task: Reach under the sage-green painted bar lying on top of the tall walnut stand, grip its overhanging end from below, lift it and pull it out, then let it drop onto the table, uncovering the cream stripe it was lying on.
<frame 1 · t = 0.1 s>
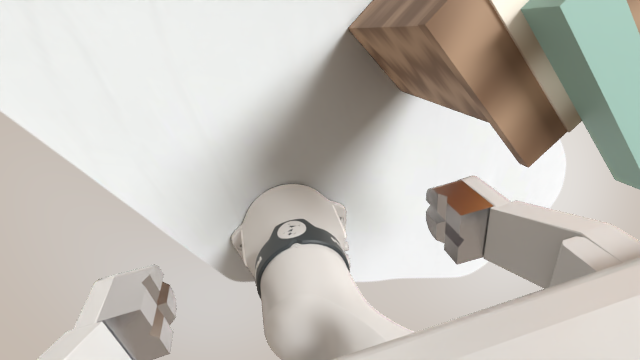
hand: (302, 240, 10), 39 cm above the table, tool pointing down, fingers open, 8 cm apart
bar: (593, 90, 26), point 26 cm above the table, touching stand
stand: (405, 39, 47), on the table
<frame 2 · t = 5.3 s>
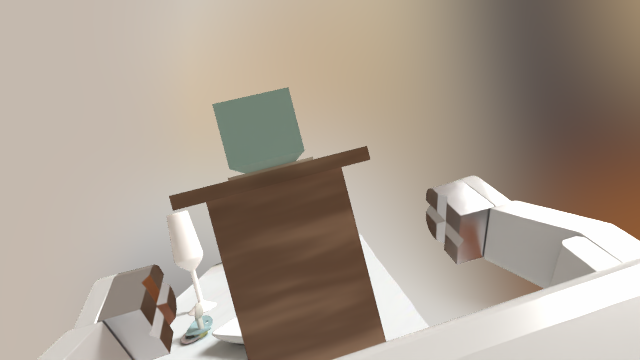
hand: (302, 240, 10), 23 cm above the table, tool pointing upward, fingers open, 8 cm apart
bar: (271, 168, 25), point 26 cm above the table, touching stand
pacifier: (198, 337, 66), on the table
salad plate: (298, 324, 61), on the table
champagne flute: (203, 309, 82), on the table
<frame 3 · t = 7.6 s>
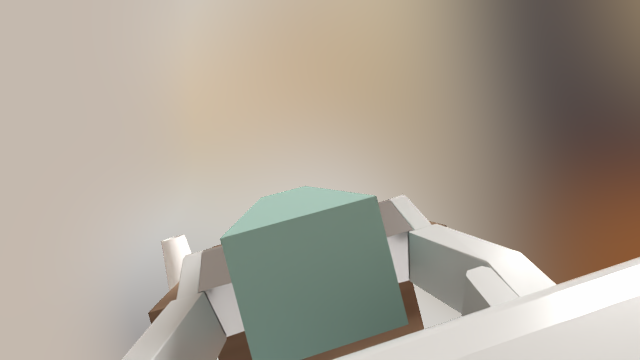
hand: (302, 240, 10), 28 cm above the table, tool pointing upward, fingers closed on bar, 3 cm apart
bar: (302, 255, 17), point 26 cm above the table, touching gripper, stand
champagne flute: (201, 344, 74), on the table
when the fingers open (19 cm above the table, at t = 13.5 s): bar drops 12 cm, on the table.
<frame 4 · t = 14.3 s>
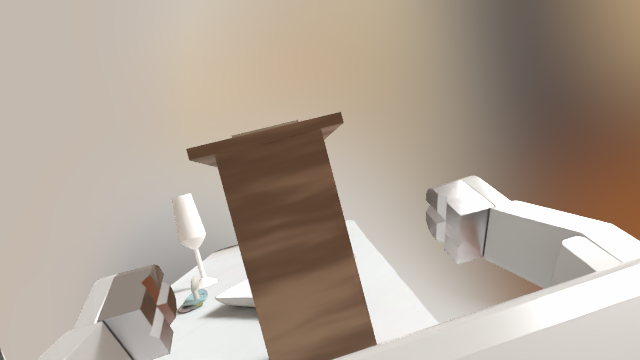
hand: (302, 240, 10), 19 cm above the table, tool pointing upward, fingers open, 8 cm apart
pacifier: (194, 307, 72), on the table
salad plate: (292, 291, 67), on the table
champagne flute: (205, 285, 88), on the table
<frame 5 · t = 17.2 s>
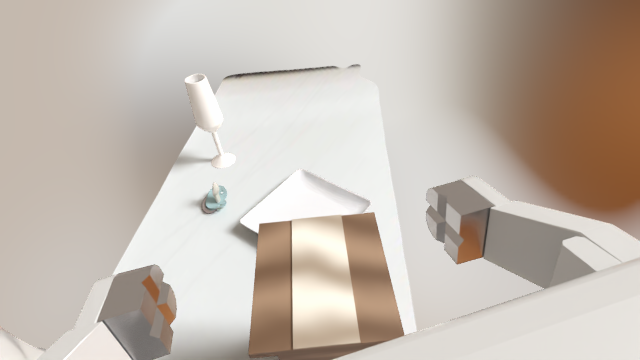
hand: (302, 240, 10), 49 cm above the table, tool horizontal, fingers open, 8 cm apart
pacifier: (215, 204, 81), on the table
salad plate: (307, 221, 75), on the table
champagne flute: (223, 160, 93), on the table
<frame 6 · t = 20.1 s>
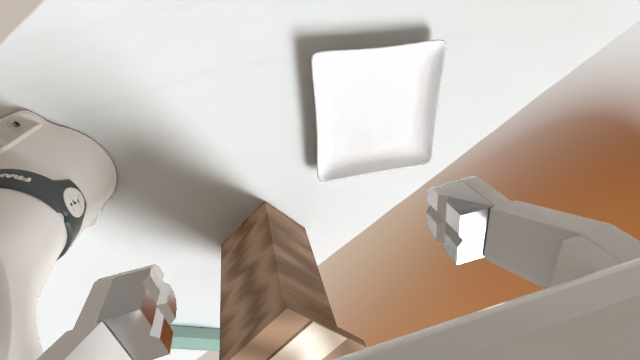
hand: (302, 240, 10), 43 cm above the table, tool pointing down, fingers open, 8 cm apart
bar: (176, 330, 70), on the table
salad plate: (371, 109, 57), on the table
stand: (260, 240, 63), on the table
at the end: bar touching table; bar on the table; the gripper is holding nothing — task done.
